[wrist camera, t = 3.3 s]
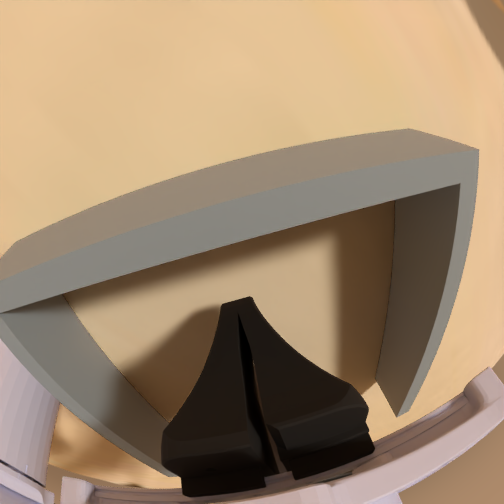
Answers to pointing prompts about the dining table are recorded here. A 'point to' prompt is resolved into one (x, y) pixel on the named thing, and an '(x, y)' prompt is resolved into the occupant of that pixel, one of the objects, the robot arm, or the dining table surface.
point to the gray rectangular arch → (232, 231)
